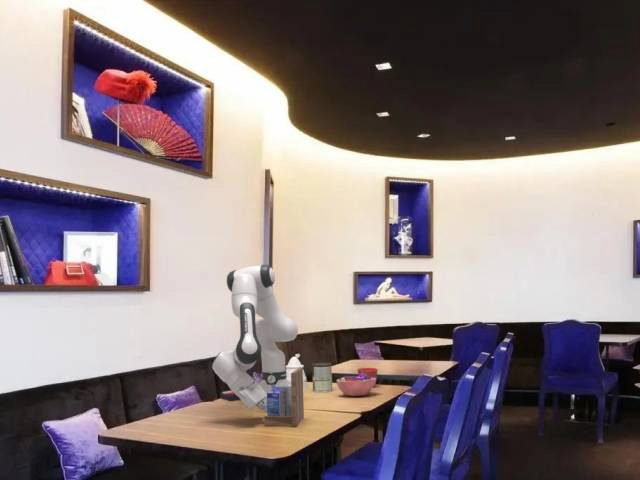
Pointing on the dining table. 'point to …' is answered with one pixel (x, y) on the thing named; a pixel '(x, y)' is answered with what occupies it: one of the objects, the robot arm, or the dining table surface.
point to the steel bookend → (287, 399)
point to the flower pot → (369, 372)
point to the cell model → (356, 384)
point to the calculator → (229, 396)
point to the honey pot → (293, 366)
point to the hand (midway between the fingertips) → (267, 411)
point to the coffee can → (322, 377)
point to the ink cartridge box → (276, 402)
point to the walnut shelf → (296, 403)
